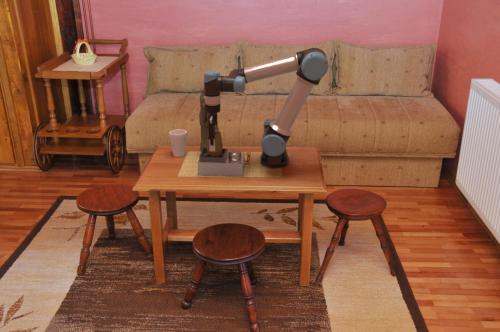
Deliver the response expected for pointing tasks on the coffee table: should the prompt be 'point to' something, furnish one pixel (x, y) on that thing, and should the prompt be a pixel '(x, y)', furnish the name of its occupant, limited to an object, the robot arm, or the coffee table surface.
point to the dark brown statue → (203, 122)
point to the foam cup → (178, 142)
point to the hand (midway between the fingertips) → (213, 147)
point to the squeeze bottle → (217, 144)
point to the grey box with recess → (222, 163)
